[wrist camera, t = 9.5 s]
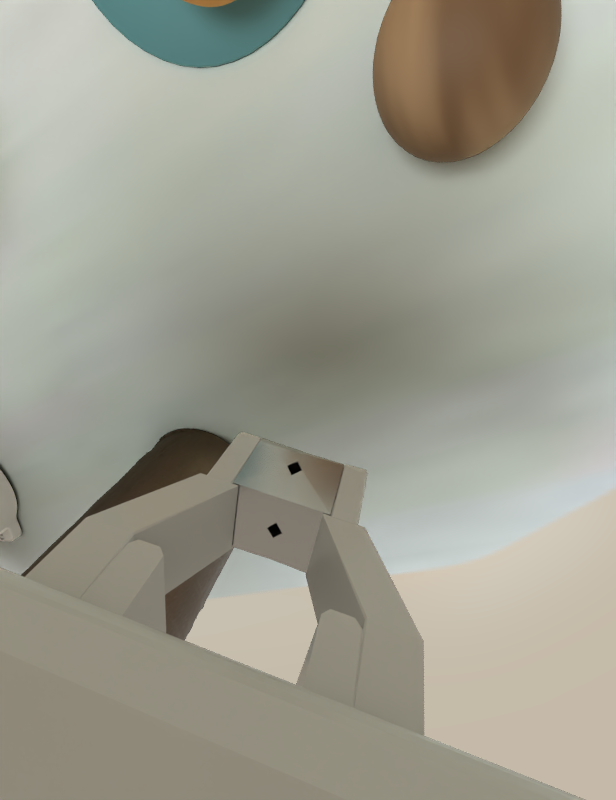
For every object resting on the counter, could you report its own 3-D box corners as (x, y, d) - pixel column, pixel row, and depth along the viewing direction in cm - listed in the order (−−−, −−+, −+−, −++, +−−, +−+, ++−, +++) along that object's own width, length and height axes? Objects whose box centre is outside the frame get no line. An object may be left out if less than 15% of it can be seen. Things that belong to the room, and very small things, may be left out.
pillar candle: (145, 417, 30) (-59, 586, 17) (260, 441, 28) (123, 651, 15) (164, 505, 35) (16, 686, 22) (263, 530, 33) (161, 746, 20)
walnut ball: (567, -215, 9) (364, -54, 13) (508, 17, 9) (321, 107, 13) (590, 17, 14) (433, 84, 18) (552, 175, 13) (402, 206, 17)
